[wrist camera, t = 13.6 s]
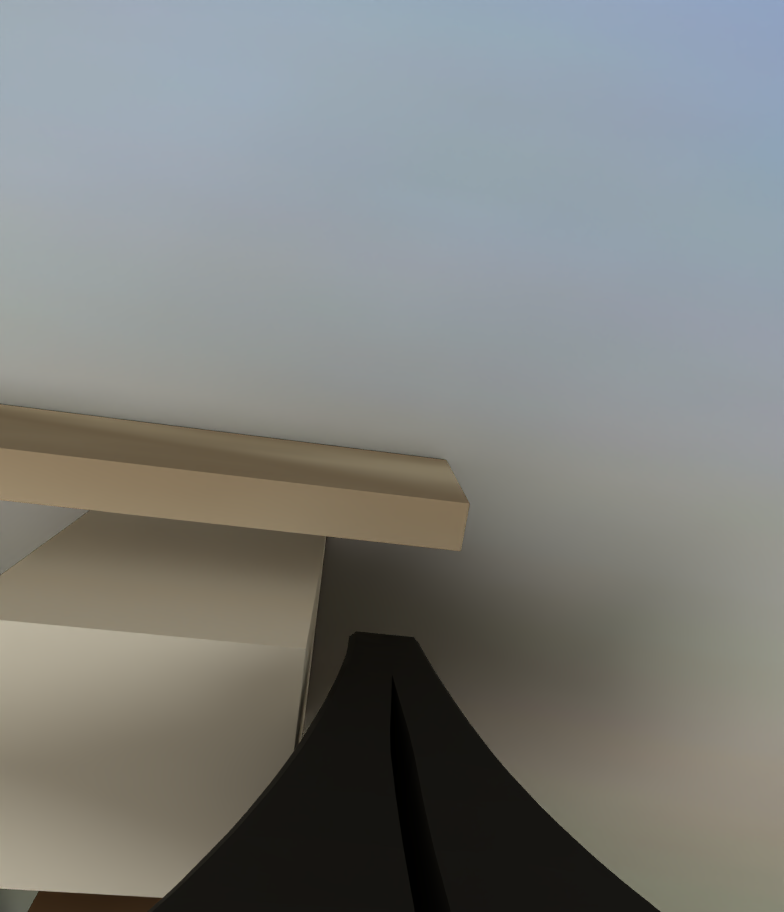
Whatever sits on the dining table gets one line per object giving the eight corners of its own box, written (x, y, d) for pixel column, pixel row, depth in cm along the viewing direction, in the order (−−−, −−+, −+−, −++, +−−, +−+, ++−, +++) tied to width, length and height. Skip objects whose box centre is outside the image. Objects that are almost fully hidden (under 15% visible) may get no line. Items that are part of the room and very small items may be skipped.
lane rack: (351, 1004, 15) (348, 1176, 12) (-39, 988, 14) (-146, 1169, 11) (446, 460, 11) (475, 516, 8) (-89, 393, 10) (-277, 427, 7)
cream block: (305, 715, 12) (276, 904, 8) (97, 697, 12) (-34, 886, 8) (326, 529, 11) (305, 648, 7) (98, 504, 11) (-55, 614, 7)
